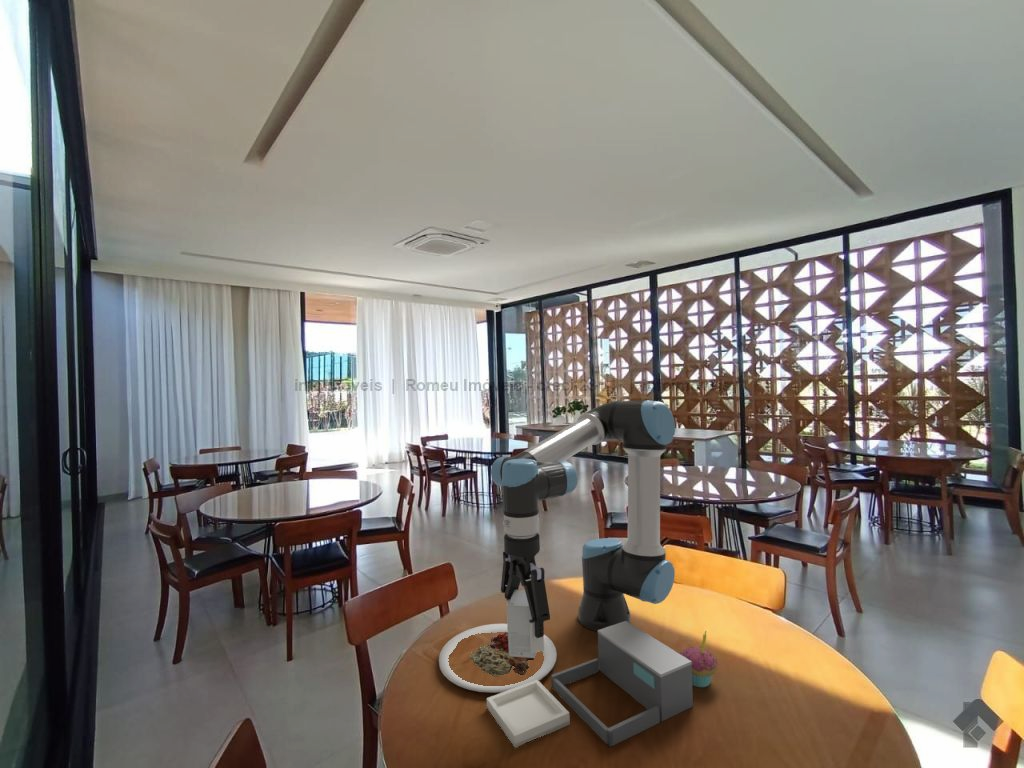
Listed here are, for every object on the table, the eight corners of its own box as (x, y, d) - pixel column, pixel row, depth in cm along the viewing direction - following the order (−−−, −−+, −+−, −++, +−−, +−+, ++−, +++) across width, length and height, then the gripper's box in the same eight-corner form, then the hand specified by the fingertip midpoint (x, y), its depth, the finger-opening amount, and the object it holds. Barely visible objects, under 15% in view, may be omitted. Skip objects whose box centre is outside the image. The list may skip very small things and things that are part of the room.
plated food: (438, 707, 104) (438, 692, 104) (438, 636, 133) (438, 624, 133) (571, 689, 108) (570, 675, 108) (542, 624, 138) (542, 613, 138)
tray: (486, 709, 102) (486, 698, 102) (537, 689, 108) (537, 679, 108) (514, 748, 91) (514, 736, 91) (569, 724, 97) (569, 712, 97)
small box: (535, 659, 95) (533, 607, 95) (508, 657, 96) (506, 605, 96) (540, 638, 103) (539, 590, 103) (515, 636, 104) (514, 588, 104)
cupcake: (716, 673, 112) (715, 623, 112) (719, 696, 104) (718, 641, 104) (678, 667, 115) (676, 618, 115) (678, 689, 107) (676, 636, 107)
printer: (551, 688, 109) (550, 646, 109) (627, 658, 119) (625, 620, 119) (609, 747, 90) (608, 696, 90) (693, 706, 101) (691, 661, 101)
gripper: (483, 523, 108) (486, 621, 108) (532, 552, 88) (536, 672, 88) (512, 518, 111) (515, 613, 111) (566, 544, 92) (569, 660, 91)
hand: (524, 639), depth 100 cm, fingers closed on small box, 9 cm apart
